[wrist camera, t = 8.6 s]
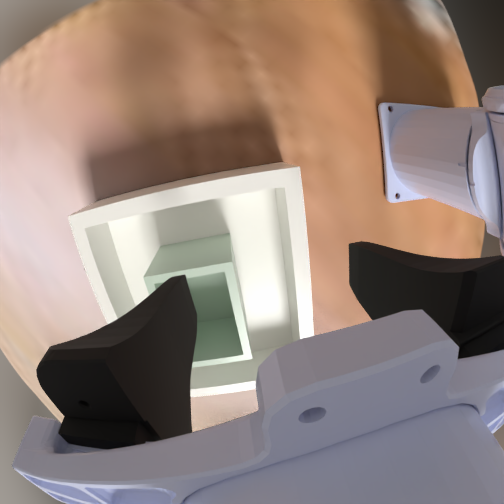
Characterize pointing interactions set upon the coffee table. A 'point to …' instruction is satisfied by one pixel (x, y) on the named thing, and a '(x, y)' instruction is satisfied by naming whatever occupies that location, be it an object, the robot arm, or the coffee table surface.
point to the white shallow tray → (200, 226)
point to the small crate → (208, 295)
